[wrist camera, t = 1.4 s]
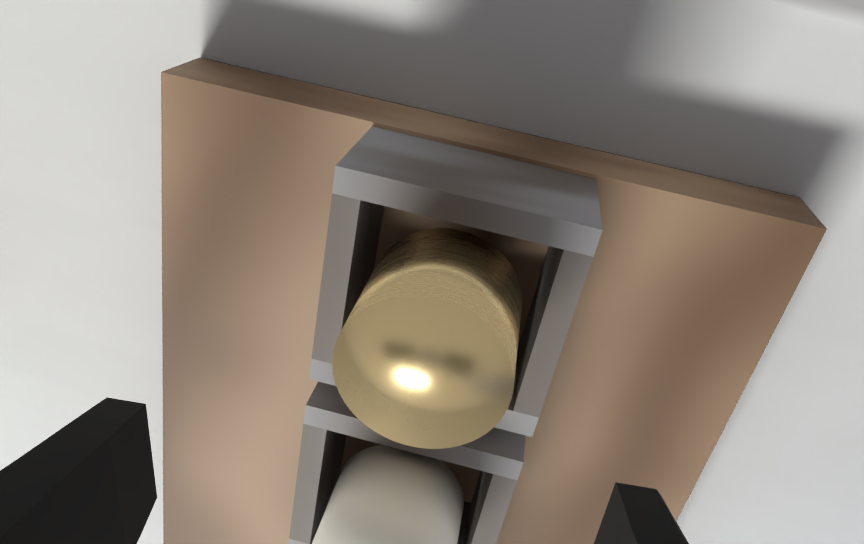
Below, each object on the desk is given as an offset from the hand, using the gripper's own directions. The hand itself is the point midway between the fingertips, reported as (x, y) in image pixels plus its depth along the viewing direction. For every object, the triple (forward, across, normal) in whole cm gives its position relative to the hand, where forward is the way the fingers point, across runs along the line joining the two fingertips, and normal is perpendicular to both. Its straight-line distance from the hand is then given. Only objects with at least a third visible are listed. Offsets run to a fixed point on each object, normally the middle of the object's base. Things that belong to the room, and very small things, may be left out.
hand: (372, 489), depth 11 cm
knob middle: (+5, 0, +6) cm, 8 cm away
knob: (+6, -1, 0) cm, 6 cm away
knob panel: (+10, 0, +6) cm, 12 cm away
